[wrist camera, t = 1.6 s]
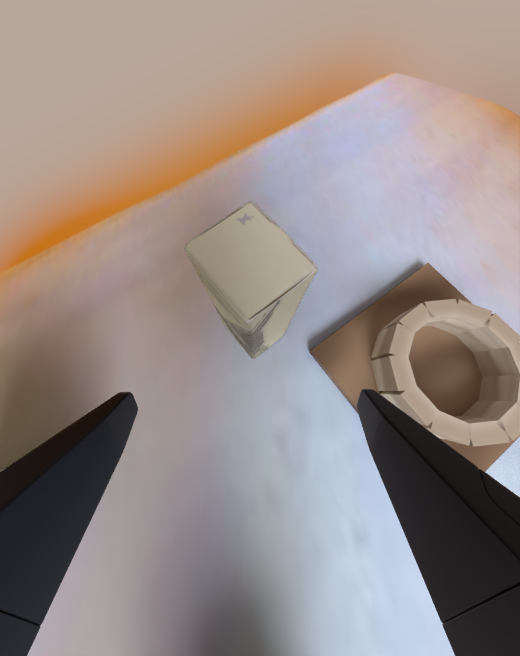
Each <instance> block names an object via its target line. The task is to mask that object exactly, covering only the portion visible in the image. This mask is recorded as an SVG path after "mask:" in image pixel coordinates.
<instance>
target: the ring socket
mask: <svg viewBox="0 0 520 656" xmlns="http://www.w3.org/2000/svg"><path fill="white" fill-rule="evenodd" d="M491 313H492V311H490V310H487V309H484V308H481V307H479V306H476V305H473V304H472V303H471V302H470V301H469V300H468V299H467V298H465V297H464V296H463V295H462V294H461V293H460V292H459V291H458V290H457V289H456V288H455V287H454V286H453V285H451V284H450V283H449V282H448V281H447V280H446V279H445V278H444V277H443V276H442V275H441V274H440V273H439V272H438V271H436V270H435V269H434V268H433V267H432V266H431V265H430V264H429V263H427V264H426V265H424V266H423V267H422V268H420V269H419V270H418V271H416V272H415V273H414V274H412V275H411V276H410V277H408V278H407V279H406V280H404V281H403V282H402V283H400V284H399V285H398V286H396V287H395V288H394V289H392V290H391V291H390V292H388V293H387V294H386V295H384V296H383V297H382V298H380V299H379V300H378V301H376V302H375V303H374V304H372V305H371V306H370V307H368V308H367V309H366V310H364V311H363V312H362V313H360V314H359V315H358V316H356V317H355V318H354V319H352V320H351V321H349V322H348V323H347V324H345V325H344V326H343V327H341V328H340V329H339V330H337V331H336V332H335V333H333V334H332V335H331V336H329V337H328V338H327V339H325V340H324V341H323V342H321V343H320V344H319V345H317V346H316V347H315V348H313V349H312V350H311V351H310V353H311V355H312V356H313V357H314V359H315V360H316V361H317V362H318V364H319V365H320V366H321V367H322V369H323V370H324V371H325V372H326V374H327V375H328V376H329V377H330V379H331V380H332V381H333V383H334V384H335V385H336V386H337V388H338V389H339V390H340V391H341V393H342V394H343V395H344V396H345V398H346V399H347V400H348V401H349V403H350V404H351V405H352V407H353V408H354V409H355V410H356V412H357V413H358V410H357V402H358V399H359V395H360V392H361V390H362V389H373V390H375V391H376V392H378V393H379V394H380V395H382V396H383V397H384V398H386V399H387V400H388V401H390V402H391V403H392V404H394V405H395V406H397V407H398V408H399V409H401V410H402V411H403V412H405V413H406V414H407V415H409V416H410V417H411V418H413V419H414V420H415V421H417V422H418V423H419V424H421V425H422V426H423V427H425V428H426V429H427V430H429V431H430V432H432V433H433V434H434V435H436V436H437V437H438V438H440V439H441V440H442V441H444V442H445V443H446V444H448V445H449V446H450V447H452V448H453V449H454V450H456V451H457V452H458V453H460V454H461V455H462V456H464V457H465V458H467V459H468V460H469V461H471V462H472V463H473V464H475V465H476V466H477V467H478V469H481V470H483V471H484V472H485V471H486V470H487V469H488V468H489V467H490V466H491V465H492V464H493V463H494V462H495V461H496V460H497V459H498V458H499V457H500V456H501V455H502V454H503V453H504V452H505V451H506V450H507V449H508V448H509V447H510V446H511V445H512V444H513V443H514V442H515V441H516V440H517V438H518V437H519V436H520V343H519V342H520V336H519V335H518V334H517V333H516V332H515V331H514V330H513V329H512V328H511V327H510V326H508V325H507V324H506V323H505V322H504V321H503V320H502V319H501V318H500V317H499V316H497V315H496V314H492V315H491ZM358 414H359V413H358Z"/></svg>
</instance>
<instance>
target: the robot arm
mask: <svg viewBox="0 0 520 656" xmlns="http://www.w3.org/2000/svg"><path fill="white" fill-rule="evenodd" d="M357 410H358V413H359V417H360V420H361V423H362V427H363V430H364V433H365V437H366V440H367V443H368V446H369V449H370V452H371V454H372V457H373V459H374V462H375V464H376V466H377V469H378V471H379V474H380V476H381V478H382V481H383V483H384V486H385V488H386V490H387V493H388V495H389V498H390V500H391V502H392V505H393V507H394V510H395V512H396V514H397V517H398V519H399V522H400V524H401V526H402V529H403V531H404V534H405V536H406V538H407V541H408V543H409V546H410V548H411V550H412V553H413V555H414V558H415V560H416V562H417V565H418V567H419V569H420V572H421V574H422V577H423V579H424V581H425V584H426V586H427V589H428V591H429V593H430V596H431V598H432V601H433V603H434V605H435V608H436V610H437V613H438V615H439V617H440V620H441V622H442V623H443V624H442V625H443V628H444V630H445V632H446V635H447V637H448V640H449V642H450V644H451V647H452V649H453V652H454V654H455V656H520V497H518V496H517V495H516V494H514V493H513V492H511V491H510V490H509V489H507V488H506V487H505V486H503V485H502V484H500V483H499V482H498V481H496V480H495V479H494V478H492V477H491V476H490V475H488V474H487V473H485V472H484V471H483V470H481V469H478V467H477V466H476V465H475V464H473V463H472V462H471V461H469V460H468V459H467V458H465V457H464V456H462V455H461V454H460V453H458V452H457V451H456V450H454V449H453V448H452V447H450V446H449V445H448V444H446V443H445V442H444V441H442V440H441V439H440V438H438V437H437V436H436V435H434V434H433V433H432V432H430V431H429V430H427V429H426V428H425V427H423V426H422V425H421V424H419V423H418V422H417V421H415V420H414V419H413V418H411V417H410V416H409V415H407V414H406V413H405V412H403V411H402V410H401V409H399V408H398V407H397V406H395V405H394V404H392V403H391V402H390V401H388V400H387V399H386V398H384V397H383V396H382V395H380V394H379V393H378V392H376V391H375V390H373V389H362V390H361V392H360V395H359V399H358V402H357ZM137 411H138V406H137V404H136V401H135V399H134V396H133V394H132V393H131V392H120V393H118V394H116V395H115V396H113V397H112V398H110V399H109V400H107V401H106V402H104V403H103V404H101V405H100V406H98V407H97V408H95V409H94V410H92V411H91V412H89V413H88V414H86V415H85V416H83V417H82V418H80V419H79V420H77V421H76V422H74V423H73V424H71V425H70V426H68V427H67V428H65V429H64V430H62V431H61V432H59V433H58V434H56V435H55V436H53V437H52V438H50V439H49V440H47V441H46V442H44V443H43V444H41V445H40V446H38V447H37V448H35V449H34V450H32V451H31V452H29V453H28V454H26V455H25V456H23V457H22V458H20V459H19V460H17V461H16V462H14V463H13V464H11V465H10V466H8V467H7V468H5V469H4V470H2V471H1V472H0V656H27V654H28V652H29V650H30V648H31V646H32V644H33V642H34V640H35V637H36V635H37V633H38V631H39V629H40V625H41V624H42V622H43V620H44V618H45V616H46V614H47V612H48V610H49V607H50V605H51V603H52V601H53V599H54V597H55V595H56V593H57V590H58V588H59V586H60V584H61V582H62V580H63V578H64V576H65V574H66V571H67V569H68V567H69V565H70V563H71V561H72V559H73V557H74V555H75V552H76V550H77V548H78V546H79V544H80V542H81V540H82V538H83V535H84V533H85V531H86V529H87V527H88V525H89V523H90V521H91V519H92V516H93V514H94V512H95V510H96V508H97V506H98V504H99V502H100V500H101V497H102V495H103V493H104V491H105V489H106V487H107V485H108V483H109V481H110V478H111V476H112V474H113V472H114V470H115V468H116V466H117V464H118V461H119V459H120V457H121V455H122V453H123V450H124V448H125V445H126V442H127V440H128V437H129V434H130V431H131V429H132V426H133V423H134V420H135V418H136V415H137Z"/></svg>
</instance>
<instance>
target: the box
mask: <svg viewBox="0 0 520 656" xmlns="http://www.w3.org/2000/svg"><path fill="white" fill-rule="evenodd" d="M184 249H185V251H186V253H187V255H188V257H189V258H190V260H191V262H192V264H193V266H194V267H195V269H196V271H197V273H198V275H199V277H200V279H201V281H202V283H203V285H204V287H205V288H206V290H207V292H208V294H209V296H210V298H211V300H212V302H213V304H214V306H215V308H216V310H217V312H218V313H219V315H220V317H221V319H222V321H223V323H224V325H225V326H226V327H227V329H228V330H229V331H230V333H231V334H232V335H233V336H234V338H235V339H236V340H237V342H238V343H239V344H240V345H241V346H242V348H243V349H244V350H245V351H246V352H247V353H248V355H249V356H250V357H251V358H252V359H255V358H256V357H258V356H259V355H260V354H262V353H263V352H264V351H265V350H267V349H268V348H269V347H270V346H272V345H273V344H274V343H275V342H276V341H278V340H279V339H280V338H281V337H282V336H283V335H284V333H285V331H286V329H287V327H288V325H289V323H290V321H291V319H292V317H293V315H294V314H295V312H296V310H297V308H298V306H299V304H300V302H301V300H302V298H303V296H304V294H305V292H306V290H307V288H308V286H309V284H310V283H311V281H312V279H313V277H314V276H315V274H316V272H317V270H318V269H317V266H316V264H315V263H314V262H313V261H312V260H311V259H310V258H309V257H308V255H307V254H306V253H305V252H304V251H303V250H302V249H301V248H300V247H299V246H298V245H297V244H296V243H295V242H294V241H293V240H292V239H291V238H290V237H289V236H288V235H287V234H286V233H285V232H284V231H283V230H282V229H281V228H280V227H279V226H278V225H277V224H276V223H275V222H274V221H273V220H272V219H270V218H269V217H268V216H267V215H266V214H265V213H264V212H263V211H262V210H261V209H260V208H259V207H258V206H257V205H256V204H255V203H254V202H252V201H250V202H248V203H246V204H244V205H243V206H241V207H240V208H238V209H237V210H235V211H234V212H232V213H231V214H229V215H228V216H226V217H225V218H223V219H222V220H220V221H219V222H217V223H216V224H214V225H213V226H211V227H210V228H209V229H207V230H206V231H204V232H203V233H201V234H200V235H198V236H197V237H195V238H194V239H193V240H191V241H190V242H188V243H187V244H186V245H185V246H184Z"/></svg>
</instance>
